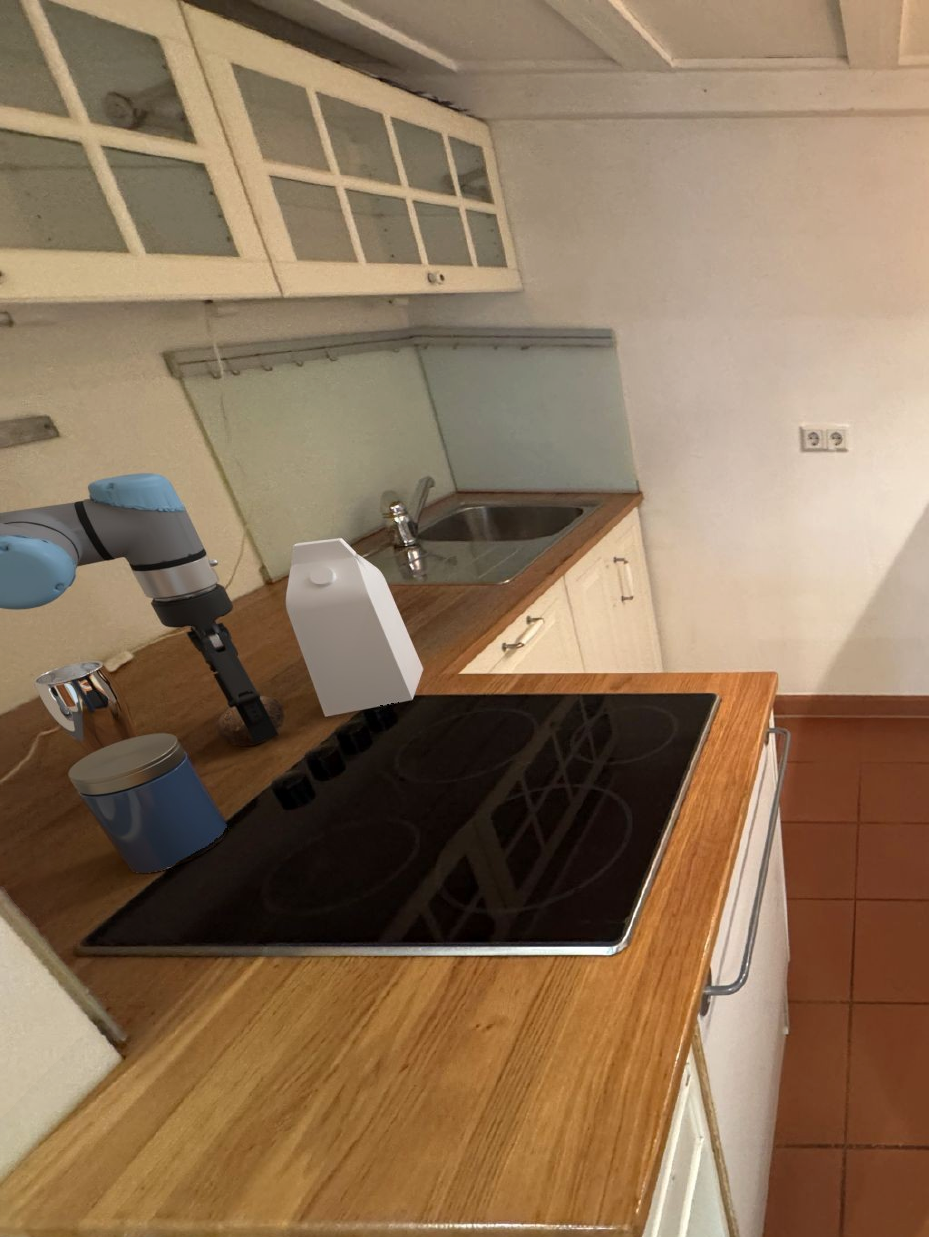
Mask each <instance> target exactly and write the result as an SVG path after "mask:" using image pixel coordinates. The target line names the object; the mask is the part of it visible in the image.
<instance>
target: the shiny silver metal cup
mask: <svg viewBox="0 0 929 1237" xmlns="http://www.w3.org/2000/svg"><path fill="white" fill-rule="evenodd" d="M32 684H33V685H34V687H35V689H36V692H37V694H38V695H39V697H40V698H41V702H42V703H43V705H44V706H45V708H46V710H47V711H48V713H49V714H50V715H51V717H52V718H53V720H54V721H55V722H56V723H57V724H58V725H59V726H60V728H62V729H63V731H65V732H66V734H68V735H69V736H70V737H71V738H72V739H73V740H74V741H75V742H76V743H77V744H78V745H79V746H80V747H81V748H82V749H83V750H84V751H85V753H86V754H87V756H88V755H90V754H91V753H93V752H95V751H98V750H100V749H102V748H104V747H107V746H109V745H112V744H115V743H117V742H120V741H124V740H127V739H130V738H134V737H138V736H139V734H138V732H137V730H136V727H135V724H134V721H133V718H132V714H131V711H130V708H129V704H128V702H127V699H126V697H125V695H124V693H123V691H122V689H121V687H120V686H119V684H118V682H117V681H116V679H115V678H114V677H113V675H112V674H111V673H110V671H109V670H108V668H107V667H106V666H105V664H104V663H103V661H101V660H86V661H80V662H74V663H69V664H66V665H63V666H59V667H56V668H52V669H51V670H48V671H46V672H44V673H41V674H40V675H38V676H36V677H34V678H33V680H32Z"/></svg>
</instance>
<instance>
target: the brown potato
mask: <svg viewBox="0 0 929 1237" xmlns="http://www.w3.org/2000/svg"><path fill="white" fill-rule="evenodd" d="M260 699H261V701H262V703H263V705H264V707H265V709H266V711H267V713H268V715H269V717H270V719H271V721H272V723H273V725H274V727H275V729H276V731H277V732H279V730H280V729H281V728H282V726H283V722H284V718H285V714H284V710H283V706H282V705H281V704H280V703H279V701H278V700H276V699H275V698H273V697H269V696H266V695H260ZM216 729H217V731H218V735H219V737H220V738H221V739H223V741H225V742H226V743H227V744H229V745H233V746H238V747H246V746H247V747H249V746H254V745H257V744H261V743H264V742H266V741H268V740H269V739H267V740H265V741H262V742H259V743H257V744H255V742H254V741H253V739H252V737H251V735H250V733H249V731H248V729H247V727H246V726H245V724H244V722H243V720H242V718H241V716H240V714H239V712H238V711H237V709H236V707H235V706H234V707H231V708H230V707H229V708H227V709H226V710H225V711H224V712H223V713H222V714H221V715H220V716H219V719H218V722H217V725H216Z"/></svg>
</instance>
